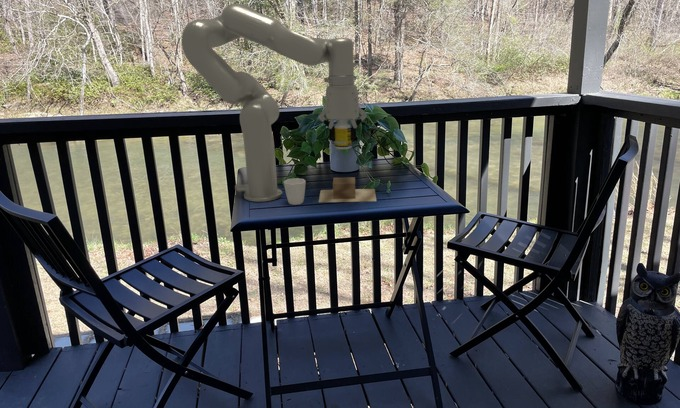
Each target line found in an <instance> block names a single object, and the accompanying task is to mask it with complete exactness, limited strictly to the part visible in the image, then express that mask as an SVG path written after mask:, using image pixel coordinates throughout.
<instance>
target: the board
mask: <svg viewBox="0 0 680 408" xmlns="http://www.w3.org/2000/svg"><path fill="white" fill-rule="evenodd" d="M354 202H355V203H356V202H357V203H362V202H377V196H376V189H375V188H355V199H333V189H321V190H320V193H319V198H318V203H354Z"/></svg>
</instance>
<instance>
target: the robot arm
mask: <svg viewBox="0 0 680 408" xmlns="http://www.w3.org/2000/svg"><path fill="white" fill-rule="evenodd" d="M239 38H243V39H246V40H248V41H251V42H253V43H256V44H258V45H261V46H263V47H264V48H268V50H271V51H273V52H275V53H277V54H279V55H281V56H283V57H285V58H288V59H290V60H293V61H295V62H297V63H300V64H302V65H305V66H310V67H313V66H316V65H320V64H321V65H322V64H325V63H328V65H327V67H328V76H327V77H324V78H323V82H324V83H327V84H328V85H327V86H326V89H325V108H324V109H323V110H322V111H321V112H320V114H319V115H318V116H317V119H318V120H320V122H322V123H323V125H325V126H326V127H328V129H329V139H331V142H333V143H335V138H334V125H335V121H336V120H349V121H350V122H351V126H352V128H351V129H352V142H355V139H356V138H357V128H358V126H359V125H361V123H362V122H363V121H364V120H365V119H367V117H368V115H367V114H366V112H365V111H364V110H363V109H362V108H361V107H360V105H359V103H360V102H359V101H360V100H359V92H358V86H357V85H356V84H355V72H354V71H355V70H354V67H355V66H354V64H355V63H354V43H353V40H352V39H351V38H349V37H342V38H341V37H338V38H330V39H328V38H320V37H313V38H311V37H308V36H306V35H303V34H301V33H298V32H296V31H293V30H291V29H289V28H287V26H284V25H283V24H282V23H281V21H279V20H278V19H276V18H274V17H271V16H268V15H266V14H264V13H261V12H258V11H257V10H255V9H253V7H251V6H249V5H247V4H243V3H242V4H240V3H232V4H228V5H227V6H225V8H224V9H223V10H222V13H221V14H220V15H218V16H217V17H214V18H212V19H208V18H206V19H205V18H204V19H202V18H201V19H200V18H199V19H195V20H192V21H190V22H188V23H187V24H186V26H185V27H184V28H183V32H182V35H181V48H182V50H183V51H182V52H183V54H184V56H185V57H186V58H185V59H187V61H188V62H189V64H190V65H191V66H192V67H193V68H194V69H195V70H196V71H197V73H198V74H200V75H201V77H203V79H204V80H205V81H206V83H207V84H209V85H210V86H211V87H212V89H213V90H214V91H215V93H217V94H218V96H220V97H221V99H222V100H223V101H224V102H226V103H228V104H229V105H239V104H240V105H241V106H242V108H241V110H240V113H239V124H240V127H241V133H242V138H243V146H244V156H245V158H244V159H245V168H246V178H247V179H246V181H247V183H244V184H235V185H234V190H235V191H237V193H239V192H240V193H241V192H244V193H243V197H244V199H245V200H246V201H249V202H253V203H254V202H259V203H262V202H271V201H275V200H278V199H280V198H281V197H282V196H283V191H282V190H281V189H279V188H278V180H277V169H276V168H277V165H276V152H275V151H276V150H275V140H274V135H273V134H274V133H273V130H272V125H273V124H274V123H275V122H276V121H277V120H278V118H279V116H280V106H279V104H278V102H277V101H276V100H275V99H274V97H273V96H272V95H271V94H270V93H269V92H268V91H267V90H266V89H265V87H263V85H262V84H261V83H260V82H259V81H258V80H257V79H256V78H255V77H254V76H253V75H251V74H249V73H248V72H245V71H235V70H234V69H233V67H231V66H230V65H229V64H228V62H227V61H226V60H225V58H223V57H222V56H221V55H220V54H218V53H217V52H216V51H214V48H219V47H221V46H223V45H226V44H229V43H230V42H233V41H235V40H237V39H239ZM360 115H361V116H360Z"/></svg>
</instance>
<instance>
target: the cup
mask: <svg viewBox="0 0 680 408" xmlns="http://www.w3.org/2000/svg"><path fill="white" fill-rule="evenodd" d="M306 182H307V181H306V179H304V178H299V177H296V178H295V177H293V178H287V179H285V180H283V187H284V191H285V195H286V199H287V202H288V204H289V205H291V206H292V205H293V206H296V205H301V204H303V203H304V200H305V193H306V185H307V183H306Z"/></svg>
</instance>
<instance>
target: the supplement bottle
mask: <svg viewBox="0 0 680 408" xmlns="http://www.w3.org/2000/svg"><path fill="white" fill-rule="evenodd" d="M335 121H336V123H334V124H333V126H334V138H335V141H334V148H335V149H336V150H349V149H351V148H352V147H353V146H352V145H353V141H352V129H351V128H352V123H350V120H335Z"/></svg>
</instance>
